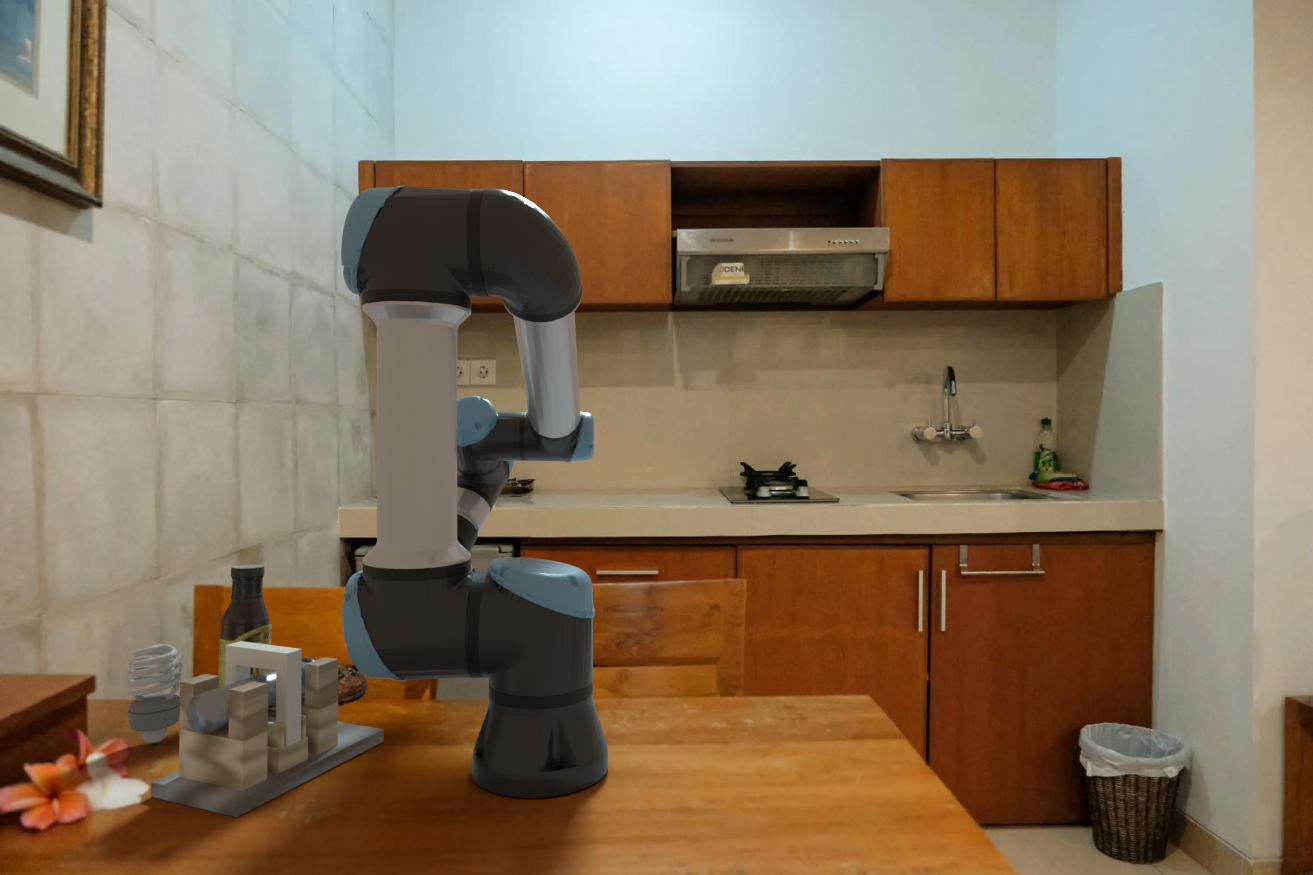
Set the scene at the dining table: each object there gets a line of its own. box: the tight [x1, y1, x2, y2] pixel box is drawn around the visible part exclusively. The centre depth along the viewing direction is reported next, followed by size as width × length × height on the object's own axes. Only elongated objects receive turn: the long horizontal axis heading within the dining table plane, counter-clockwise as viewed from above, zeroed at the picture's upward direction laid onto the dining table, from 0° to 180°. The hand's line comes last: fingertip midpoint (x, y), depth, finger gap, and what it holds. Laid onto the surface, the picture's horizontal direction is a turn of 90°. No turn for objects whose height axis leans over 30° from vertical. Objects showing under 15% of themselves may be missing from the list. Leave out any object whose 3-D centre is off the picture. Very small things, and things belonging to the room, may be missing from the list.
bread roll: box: [303, 666, 368, 704], centre depth 115 cm, size 11×11×5 cm
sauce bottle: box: [218, 564, 273, 688], centre depth 107 cm, size 6×6×20 cm
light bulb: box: [127, 643, 183, 745], centre depth 96 cm, size 6×6×12 cm
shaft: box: [187, 656, 318, 734], centre depth 87 cm, size 14×4×4 cm, turn 159°
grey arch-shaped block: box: [225, 641, 303, 747], centre depth 88 cm, size 9×2×10 cm, turn 69°
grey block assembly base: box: [150, 657, 384, 818], centre depth 89 cm, size 12×21×12 cm, turn 159°
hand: (382, 662), depth 106 cm, fingers closed
